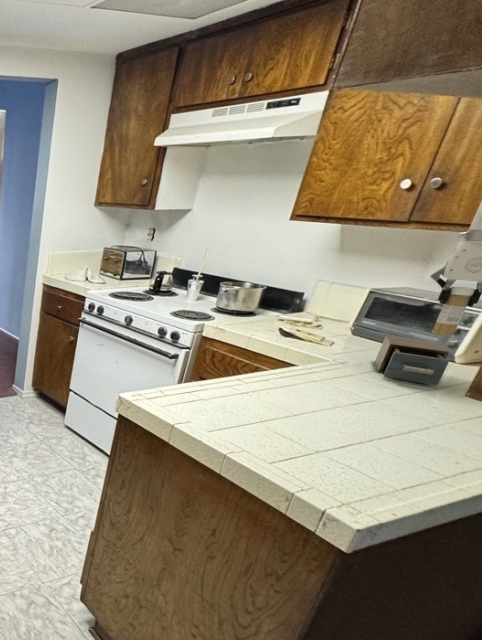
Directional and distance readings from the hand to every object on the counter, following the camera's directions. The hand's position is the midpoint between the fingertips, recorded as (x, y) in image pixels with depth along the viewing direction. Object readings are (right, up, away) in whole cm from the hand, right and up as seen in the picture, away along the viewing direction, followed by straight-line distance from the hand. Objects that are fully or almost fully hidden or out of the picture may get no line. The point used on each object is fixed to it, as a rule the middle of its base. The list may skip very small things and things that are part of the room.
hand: (455, 304), depth 133 cm
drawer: (-1, -20, +11) cm, 23 cm away
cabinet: (+6, -18, +19) cm, 27 cm away
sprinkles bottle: (0, -8, +3) cm, 9 cm away
